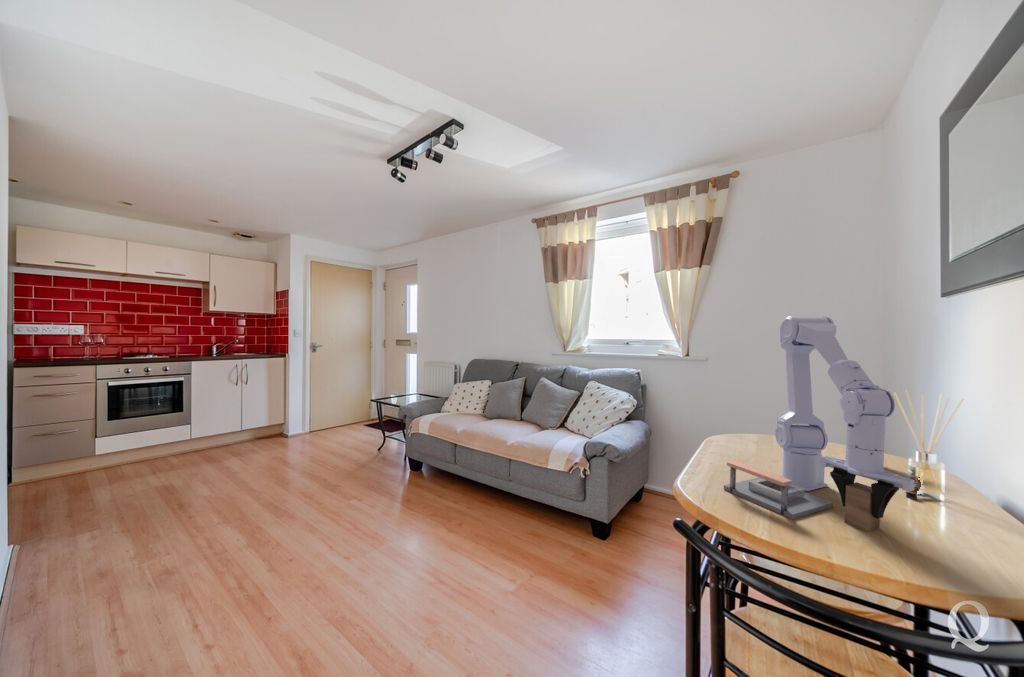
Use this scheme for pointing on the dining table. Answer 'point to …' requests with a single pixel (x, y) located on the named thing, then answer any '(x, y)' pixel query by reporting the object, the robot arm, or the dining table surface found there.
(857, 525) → the walnut peg
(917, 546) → the dining table surface
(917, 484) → the brown figurine
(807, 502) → the socket board
